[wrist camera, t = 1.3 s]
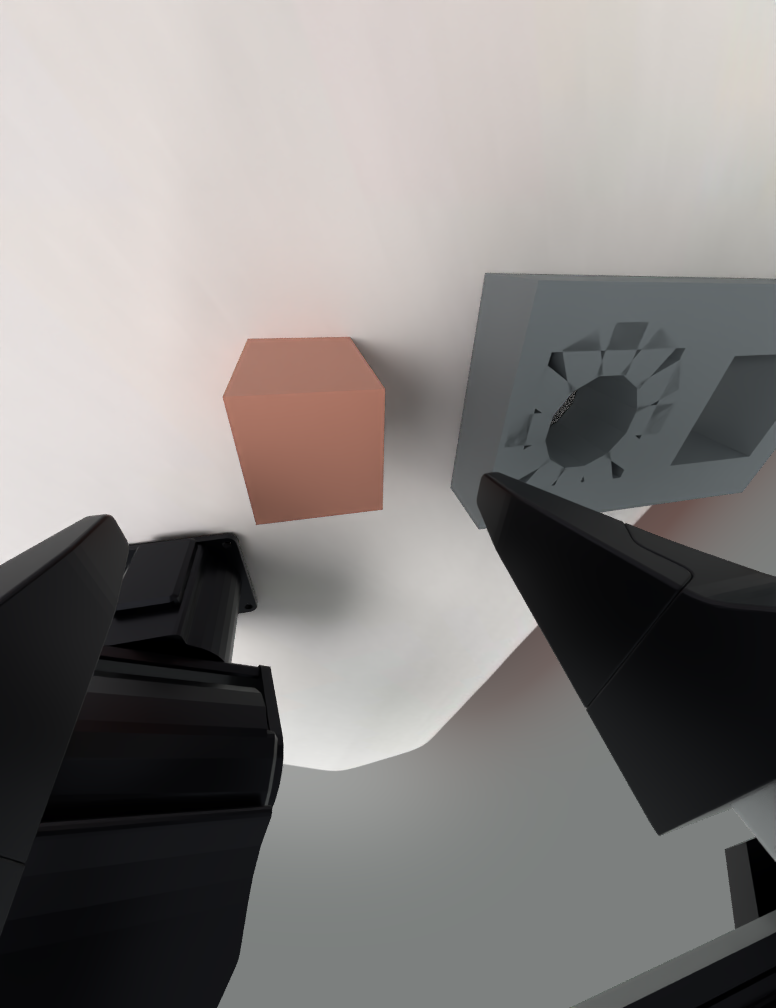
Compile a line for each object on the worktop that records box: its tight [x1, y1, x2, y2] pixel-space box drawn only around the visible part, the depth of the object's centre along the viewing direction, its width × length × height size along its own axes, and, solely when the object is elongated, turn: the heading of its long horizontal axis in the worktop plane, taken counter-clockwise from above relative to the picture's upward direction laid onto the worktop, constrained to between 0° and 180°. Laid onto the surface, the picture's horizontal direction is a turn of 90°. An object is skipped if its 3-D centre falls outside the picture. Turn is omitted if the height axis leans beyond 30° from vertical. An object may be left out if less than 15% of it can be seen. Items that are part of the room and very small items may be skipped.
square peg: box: [223, 337, 385, 525], centre depth 13 cm, size 4×4×7 cm
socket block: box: [451, 273, 776, 529], centre depth 18 cm, size 11×18×4 cm, turn 89°
